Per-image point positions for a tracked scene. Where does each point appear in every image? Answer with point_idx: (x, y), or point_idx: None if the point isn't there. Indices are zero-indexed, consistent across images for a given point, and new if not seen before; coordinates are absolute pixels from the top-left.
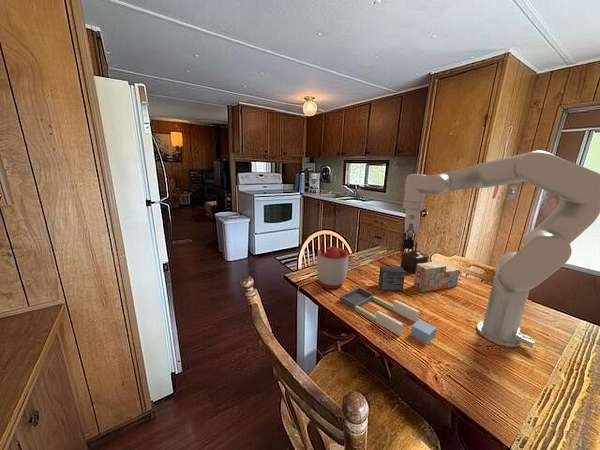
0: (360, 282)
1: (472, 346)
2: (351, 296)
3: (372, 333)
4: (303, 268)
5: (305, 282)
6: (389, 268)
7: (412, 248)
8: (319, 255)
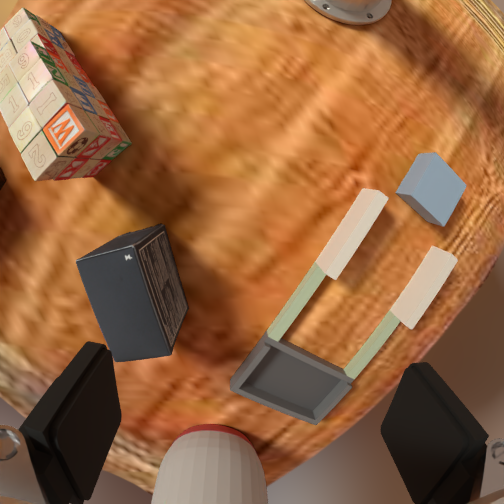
0: (160, 376)
1: (420, 69)
2: (281, 395)
3: (437, 315)
4: None
5: None
6: (127, 324)
7: (427, 367)
8: None
